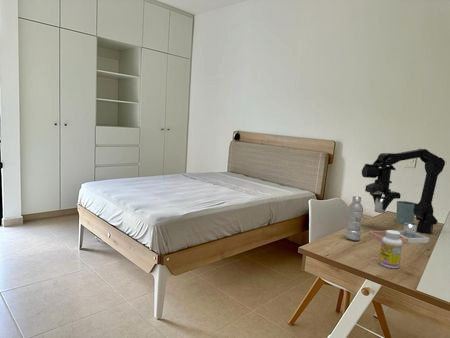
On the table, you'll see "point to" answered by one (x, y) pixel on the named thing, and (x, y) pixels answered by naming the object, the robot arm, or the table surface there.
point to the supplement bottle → (391, 249)
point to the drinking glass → (405, 212)
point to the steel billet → (379, 205)
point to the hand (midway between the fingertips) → (380, 208)
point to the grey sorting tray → (381, 234)
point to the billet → (410, 230)
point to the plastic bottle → (354, 219)
